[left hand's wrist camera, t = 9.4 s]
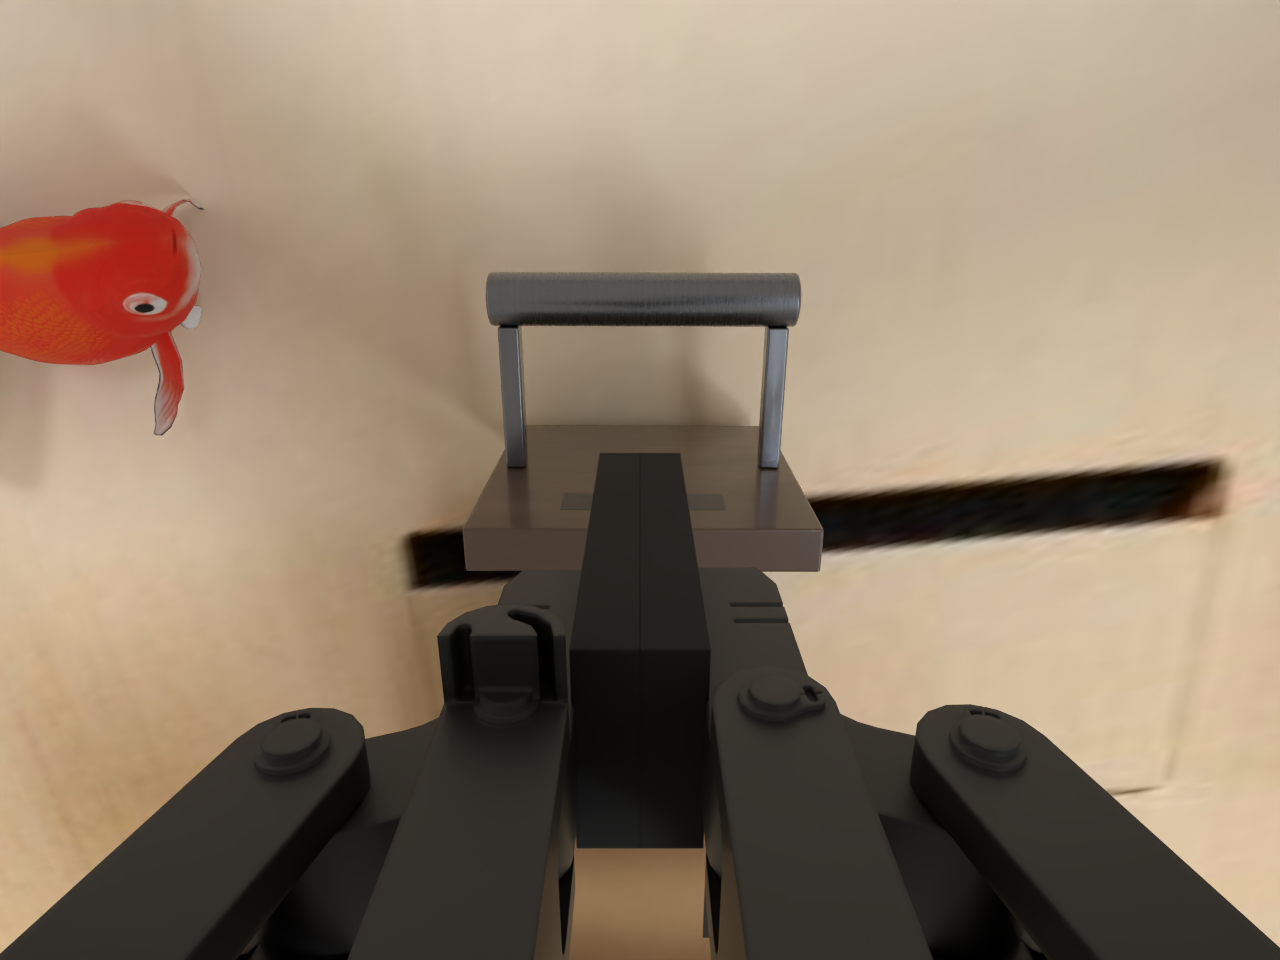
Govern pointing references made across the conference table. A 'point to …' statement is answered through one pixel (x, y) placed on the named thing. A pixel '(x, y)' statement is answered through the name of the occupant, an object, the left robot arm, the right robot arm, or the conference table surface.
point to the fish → (101, 290)
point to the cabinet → (639, 904)
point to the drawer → (643, 428)
